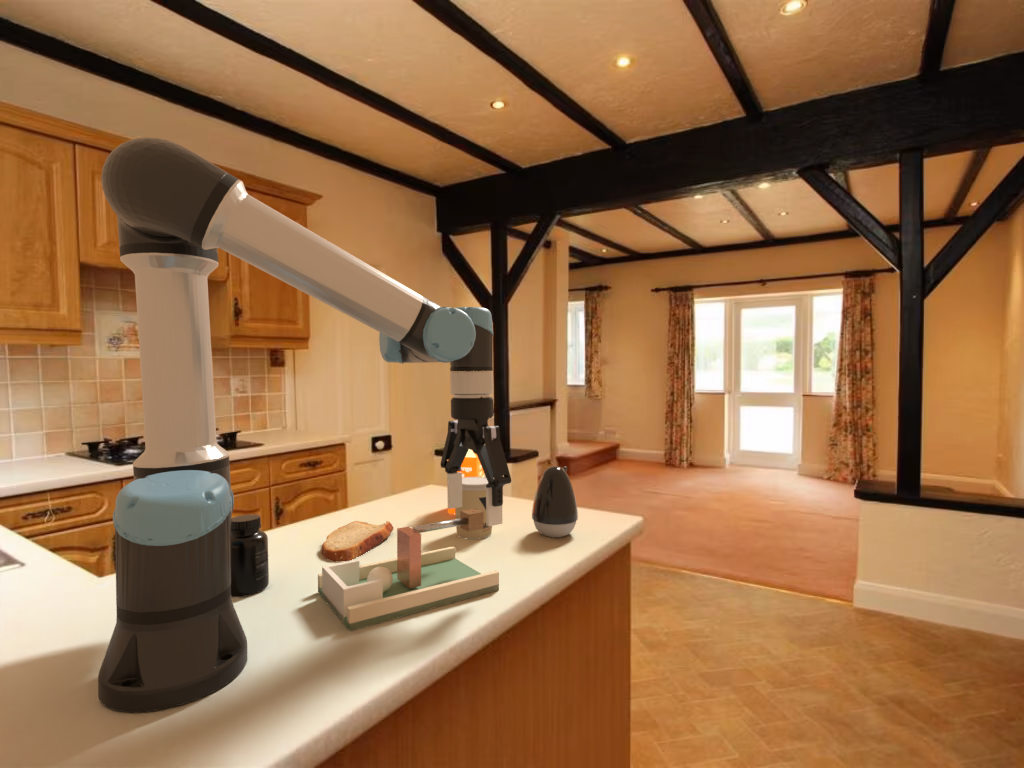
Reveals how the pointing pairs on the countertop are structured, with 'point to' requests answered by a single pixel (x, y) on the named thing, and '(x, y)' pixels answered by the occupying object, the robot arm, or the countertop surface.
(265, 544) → the supplement bottle
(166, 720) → the countertop surface
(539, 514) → the dark grey egg shape
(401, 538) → the rod
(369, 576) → the ball
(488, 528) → the coffee cup
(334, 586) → the pitch
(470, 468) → the orange juice
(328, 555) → the slice of bread
